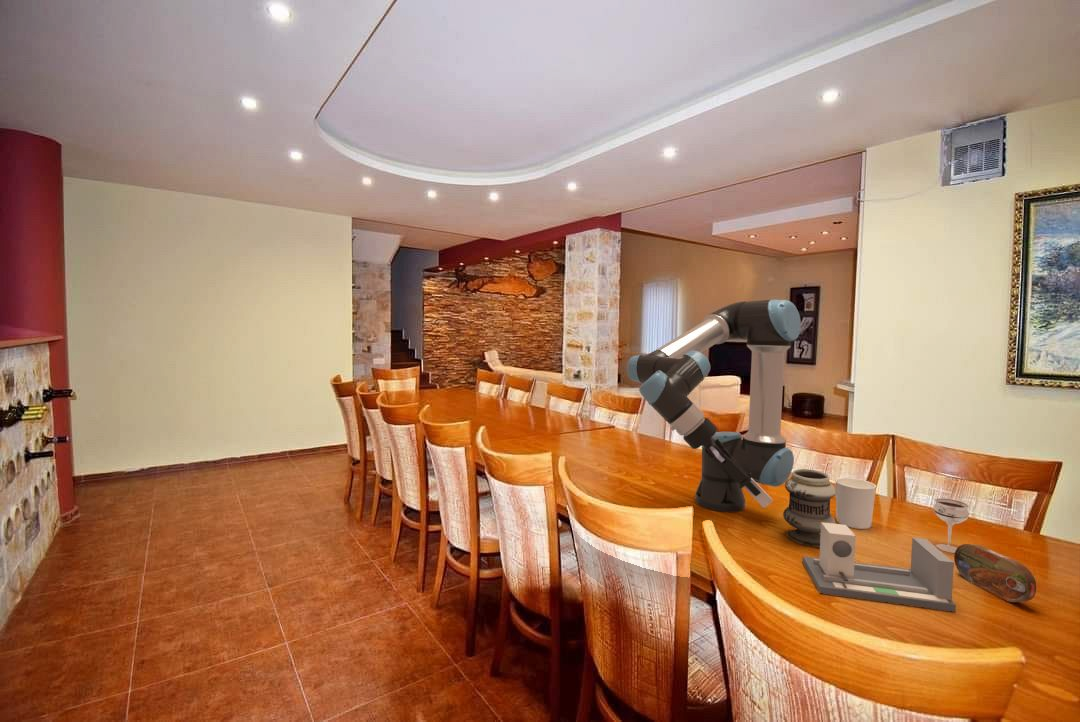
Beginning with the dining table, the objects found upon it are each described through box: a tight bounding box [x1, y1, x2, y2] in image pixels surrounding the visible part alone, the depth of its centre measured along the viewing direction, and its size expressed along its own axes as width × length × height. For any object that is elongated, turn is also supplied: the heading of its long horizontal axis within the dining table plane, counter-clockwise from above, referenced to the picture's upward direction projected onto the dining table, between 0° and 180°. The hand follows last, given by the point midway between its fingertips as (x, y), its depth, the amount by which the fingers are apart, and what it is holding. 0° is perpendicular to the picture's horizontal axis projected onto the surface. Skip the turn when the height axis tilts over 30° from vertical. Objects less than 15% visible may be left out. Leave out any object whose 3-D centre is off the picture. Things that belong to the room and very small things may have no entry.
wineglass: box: [933, 497, 970, 554], centre depth 120 cm, size 7×7×12 cm
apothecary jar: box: [782, 468, 836, 548], centre depth 125 cm, size 12×12×18 cm
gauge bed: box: [801, 537, 957, 613], centre depth 103 cm, size 24×14×10 cm, turn 74°
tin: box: [953, 543, 1037, 603], centre depth 101 cm, size 15×3×8 cm, turn 5°
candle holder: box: [834, 477, 877, 530], centre depth 135 cm, size 10×10×12 cm
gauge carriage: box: [819, 522, 857, 581], centre depth 103 cm, size 5×9×10 cm, turn 164°
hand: (767, 503), depth 107 cm, fingers closed
